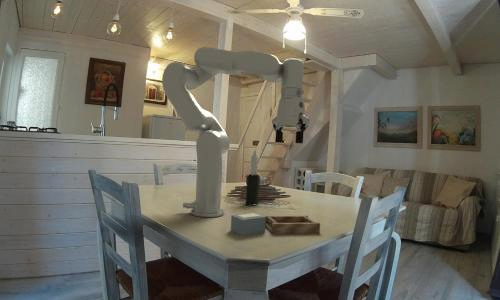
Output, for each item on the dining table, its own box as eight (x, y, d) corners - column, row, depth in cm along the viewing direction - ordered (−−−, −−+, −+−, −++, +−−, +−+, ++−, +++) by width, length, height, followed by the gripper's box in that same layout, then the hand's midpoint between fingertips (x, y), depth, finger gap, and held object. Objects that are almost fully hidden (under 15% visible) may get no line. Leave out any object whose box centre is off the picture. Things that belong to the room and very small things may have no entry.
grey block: (241, 236, 87) (242, 219, 87) (230, 231, 92) (231, 214, 92) (265, 232, 92) (266, 216, 92) (253, 227, 97) (254, 211, 97)
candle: (259, 203, 136) (262, 149, 136) (255, 205, 131) (258, 149, 131) (248, 202, 138) (251, 149, 137) (245, 204, 133) (247, 149, 133)
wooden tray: (272, 233, 91) (272, 224, 91) (263, 224, 101) (263, 215, 101) (319, 232, 95) (320, 223, 95) (306, 224, 104) (307, 215, 104)
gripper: (317, 94, 101) (314, 144, 101) (281, 98, 114) (278, 142, 114) (303, 90, 96) (300, 143, 96) (266, 95, 109) (264, 141, 110)
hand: (288, 142), depth 105 cm, fingers open, 9 cm apart
